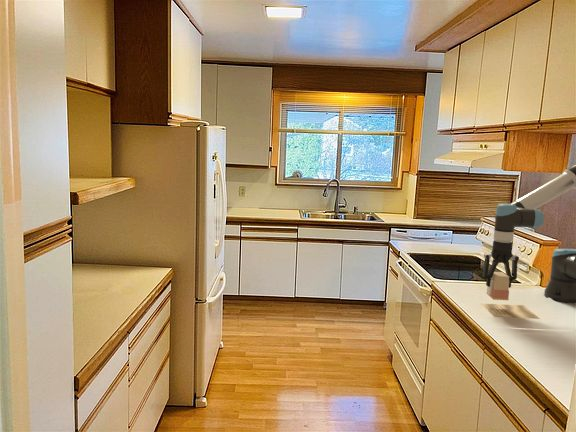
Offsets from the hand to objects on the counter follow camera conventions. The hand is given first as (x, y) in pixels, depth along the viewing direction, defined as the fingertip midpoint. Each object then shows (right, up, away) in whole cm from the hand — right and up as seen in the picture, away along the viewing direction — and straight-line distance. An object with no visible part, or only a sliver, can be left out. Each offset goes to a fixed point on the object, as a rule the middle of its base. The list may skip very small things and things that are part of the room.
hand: (497, 294), depth 202 cm
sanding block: (0, -1, 0) cm, 1 cm away
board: (+4, -7, -2) cm, 8 cm away
